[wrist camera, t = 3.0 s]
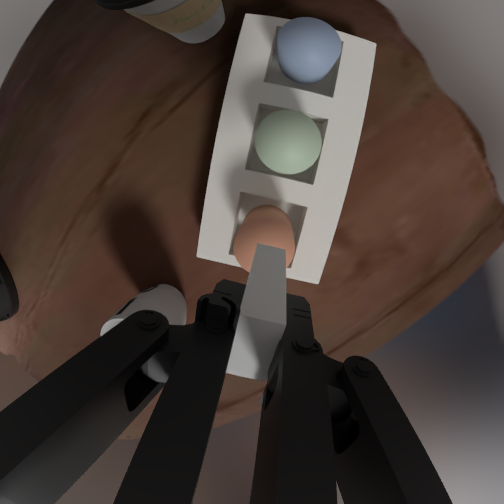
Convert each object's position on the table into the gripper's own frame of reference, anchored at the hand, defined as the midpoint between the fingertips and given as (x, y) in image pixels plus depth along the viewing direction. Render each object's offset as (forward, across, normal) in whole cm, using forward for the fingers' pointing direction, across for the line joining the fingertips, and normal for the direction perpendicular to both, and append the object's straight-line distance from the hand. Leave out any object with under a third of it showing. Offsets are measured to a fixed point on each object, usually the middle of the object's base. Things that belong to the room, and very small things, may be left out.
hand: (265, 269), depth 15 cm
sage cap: (+11, 0, +7) cm, 13 cm away
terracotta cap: (+11, 0, -1) cm, 11 cm away
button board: (+14, 0, +7) cm, 16 cm away
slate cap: (+11, 0, +15) cm, 19 cm away
